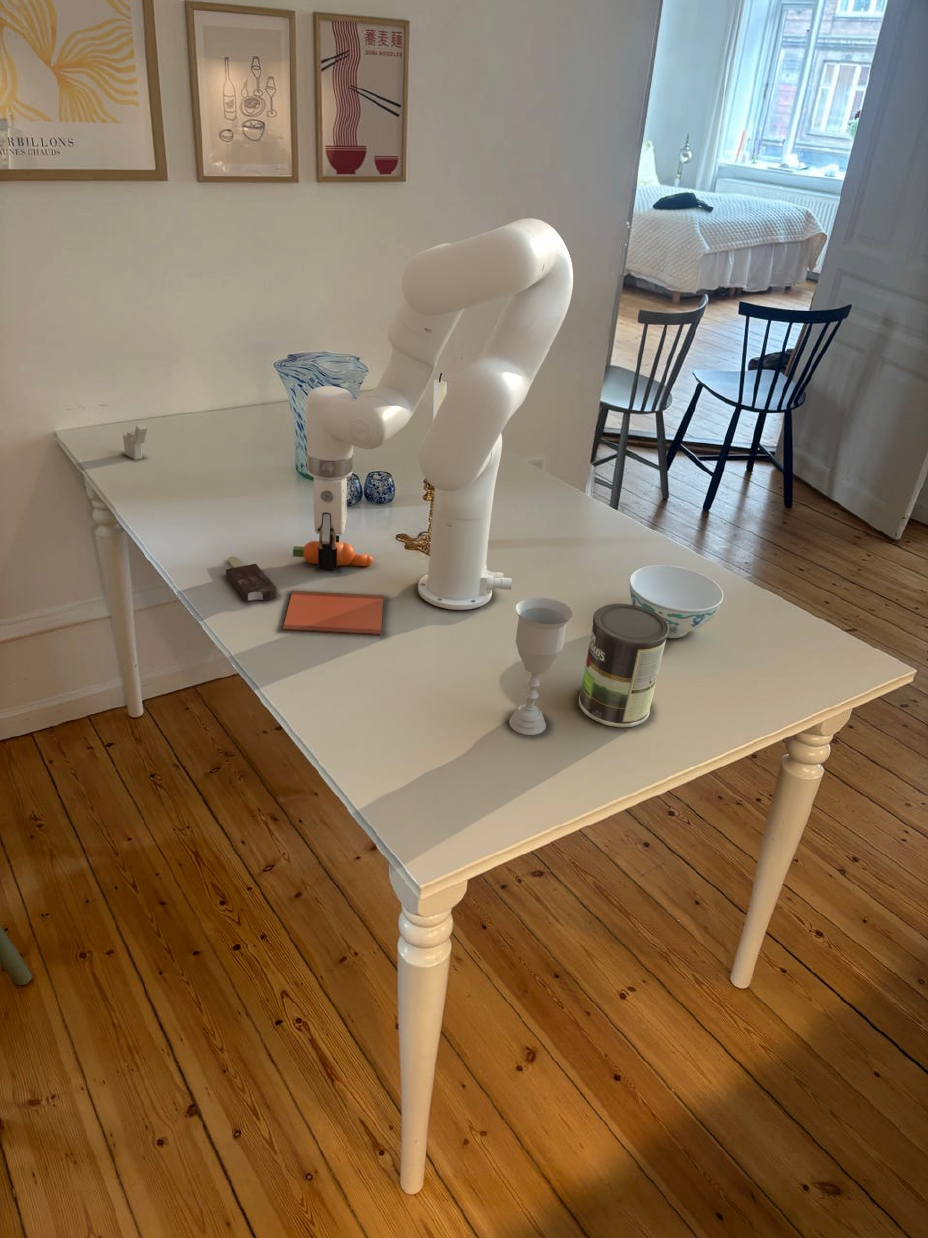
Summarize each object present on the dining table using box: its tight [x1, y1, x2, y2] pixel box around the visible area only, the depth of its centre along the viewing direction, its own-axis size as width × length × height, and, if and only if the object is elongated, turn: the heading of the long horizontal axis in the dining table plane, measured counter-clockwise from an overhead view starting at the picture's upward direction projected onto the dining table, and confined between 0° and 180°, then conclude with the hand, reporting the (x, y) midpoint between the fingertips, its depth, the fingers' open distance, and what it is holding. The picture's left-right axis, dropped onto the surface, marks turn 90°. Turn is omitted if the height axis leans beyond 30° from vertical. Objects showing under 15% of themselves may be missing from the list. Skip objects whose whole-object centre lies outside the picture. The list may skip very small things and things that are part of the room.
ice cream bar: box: [225, 555, 277, 602], centre depth 155 cm, size 5×2×15 cm
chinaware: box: [629, 564, 724, 639], centre depth 152 cm, size 15×15×8 cm
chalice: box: [508, 597, 573, 736], centre depth 123 cm, size 7×7×18 cm
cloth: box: [282, 590, 384, 636], centre depth 149 cm, size 15×12×1 cm
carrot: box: [292, 540, 374, 567], centre depth 162 cm, size 14×4×4 cm, turn 92°
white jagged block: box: [122, 423, 148, 461], centre depth 195 cm, size 7×2×8 cm, turn 48°
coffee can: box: [578, 603, 669, 728], centre depth 129 cm, size 10×10×14 cm
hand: (328, 560), depth 163 cm, fingers closed on carrot, 4 cm apart
